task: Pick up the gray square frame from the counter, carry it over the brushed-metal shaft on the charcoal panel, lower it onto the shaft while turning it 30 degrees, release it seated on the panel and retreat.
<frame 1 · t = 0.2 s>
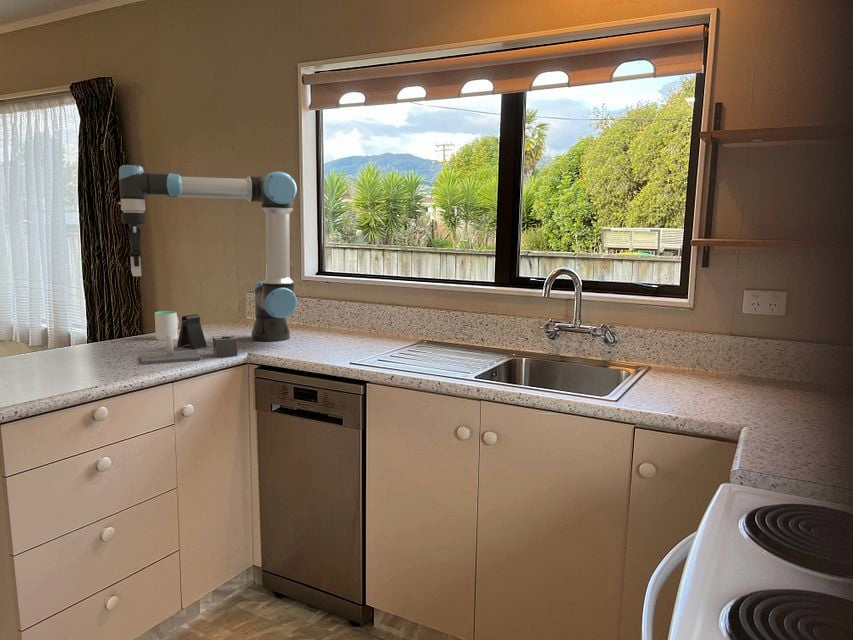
hand: (136, 274, 217), 28 cm above the worktop, fingers open, 13 cm apart
gray square frame: (225, 354, 221), on the worktop
mug: (169, 337, 252), on the worktop
panel: (170, 358, 213), on the worktop
phone stand: (192, 347, 234), on the worktop
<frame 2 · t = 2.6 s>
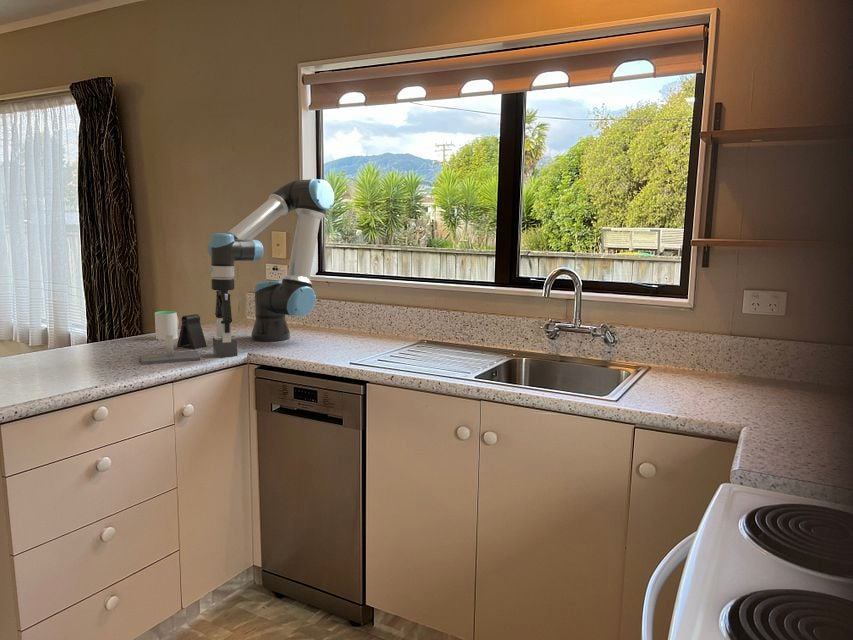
hand: (223, 339, 220), 6 cm above the worktop, fingers open, 13 cm apart
nothing on the worktop moved.
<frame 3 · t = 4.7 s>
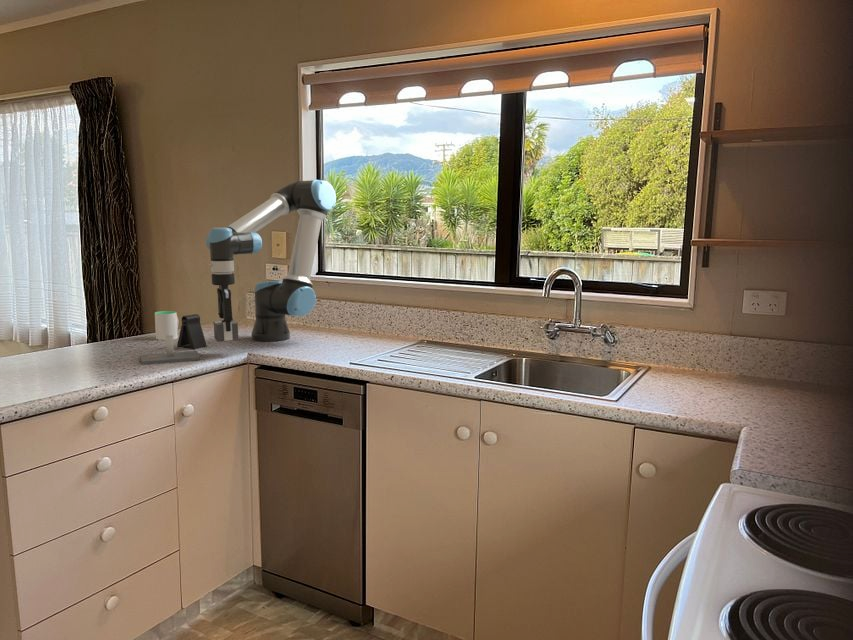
hand: (226, 338, 221), 6 cm above the worktop, fingers closed on gray square frame, 7 cm apart
gray square frame: (226, 339, 221), point 5 cm above the worktop, touching gripper
everything else where it was.
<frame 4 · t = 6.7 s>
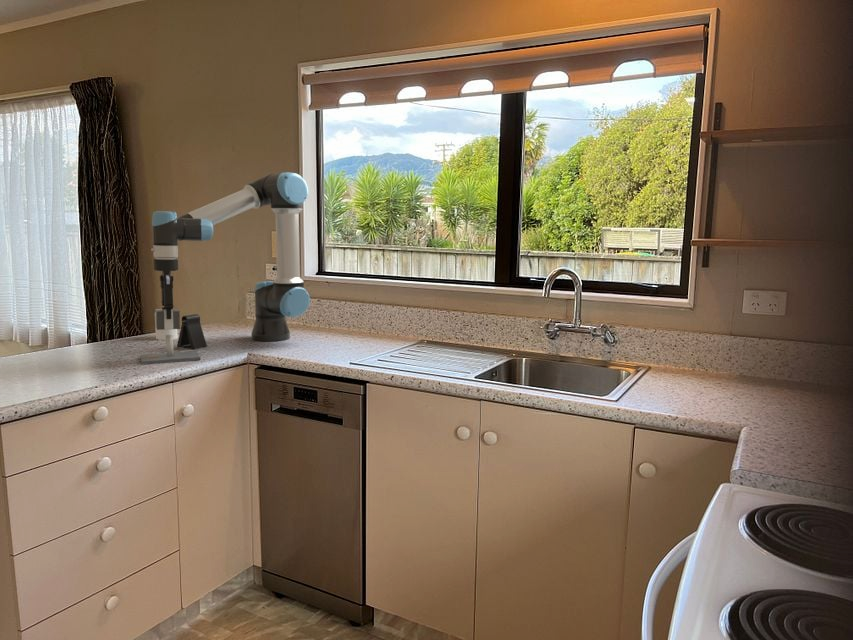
hand: (168, 327, 211), 11 cm above the worktop, fingers closed on gray square frame, 7 cm apart
gray square frame: (167, 327, 211), point 11 cm above the worktop, touching gripper
everything else where it was.
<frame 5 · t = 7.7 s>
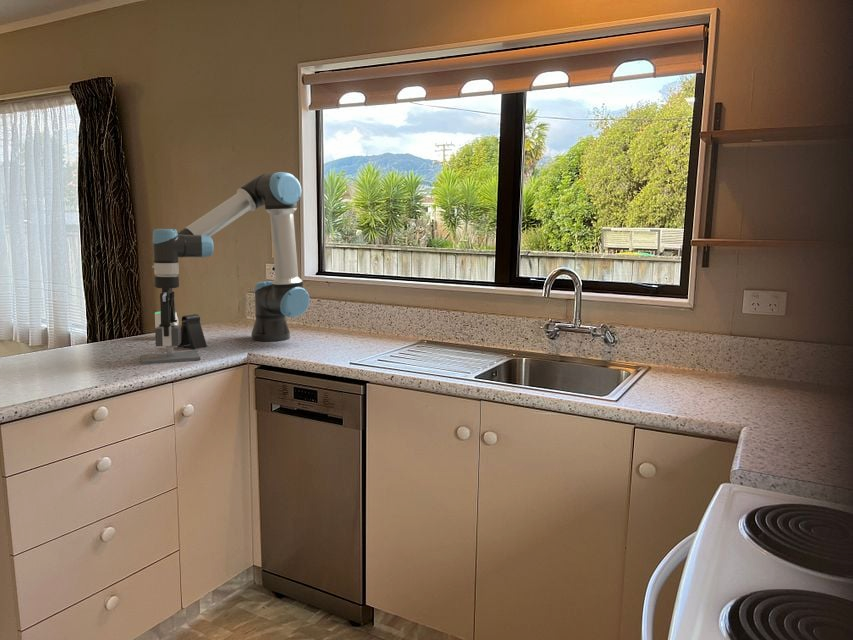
hand: (169, 343, 212), 5 cm above the worktop, fingers closed on gray square frame, 7 cm apart
gray square frame: (168, 344, 212), point 5 cm above the worktop, touching gripper
everything else where it was.
when the fingers open (2 cm above the worktop, at t = 8.7 s): gray square frame stays where it is, resting on panel.
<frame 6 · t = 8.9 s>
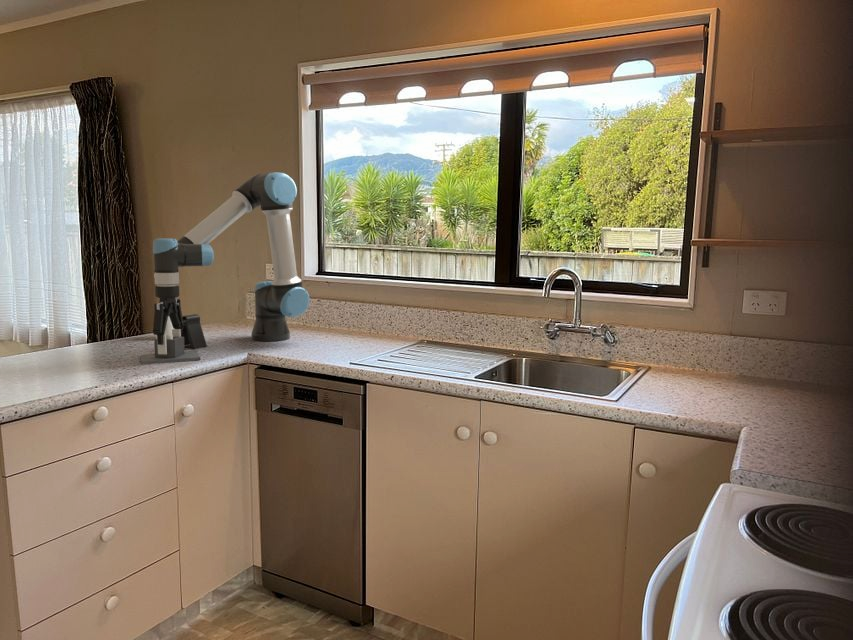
hand: (169, 350, 213), 3 cm above the worktop, fingers open, 10 cm apart
gray square frame: (169, 355, 213), point 1 cm above the worktop, touching panel
everything else where it was.
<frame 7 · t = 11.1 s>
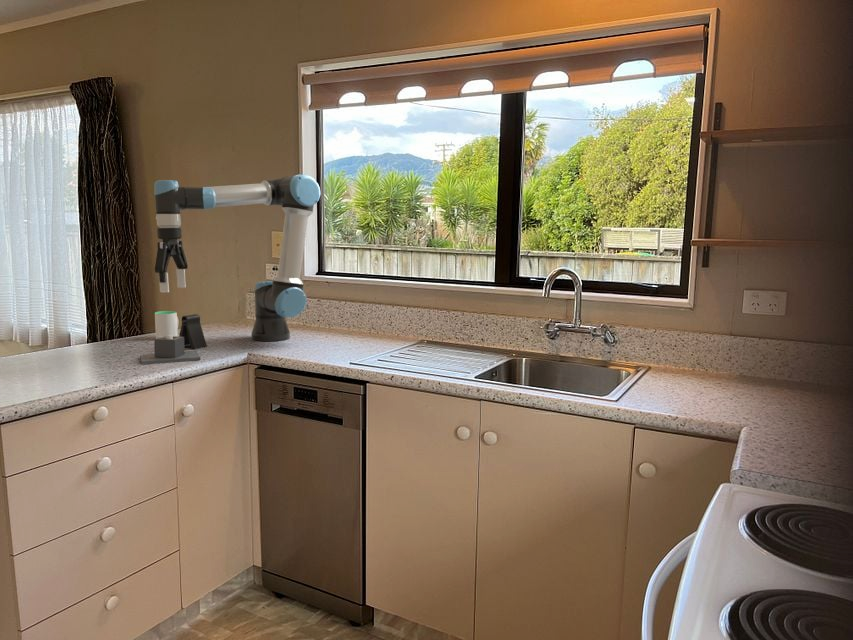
hand: (173, 290, 215), 23 cm above the worktop, fingers open, 13 cm apart
nothing on the worktop moved.
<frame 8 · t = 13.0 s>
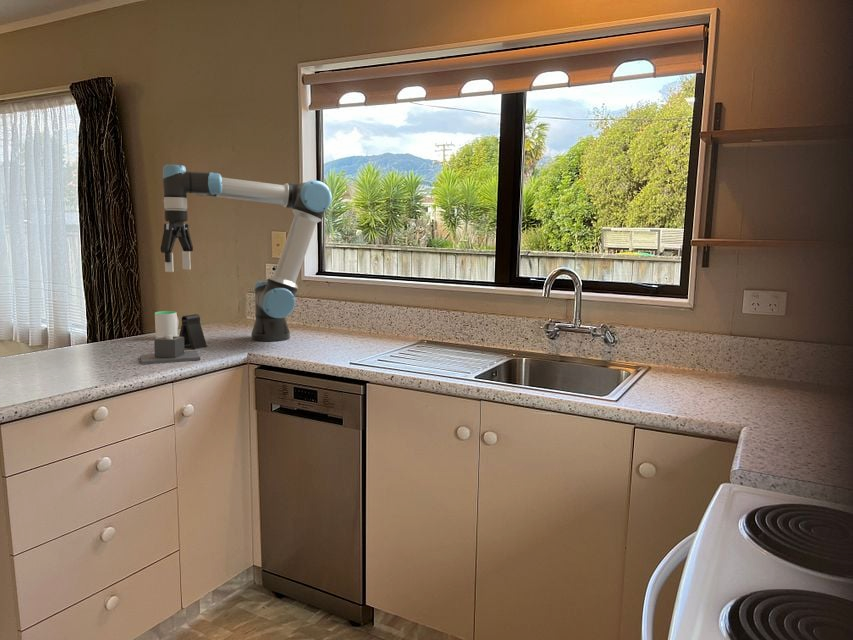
hand: (178, 270, 224), 29 cm above the worktop, fingers open, 13 cm apart
nothing on the worktop moved.
at the end: gray square frame 0.1 cm off-centre on the panel, point 1.1 cm above the panel's base; the gripper is holding nothing; gray square frame tilted 1° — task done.
